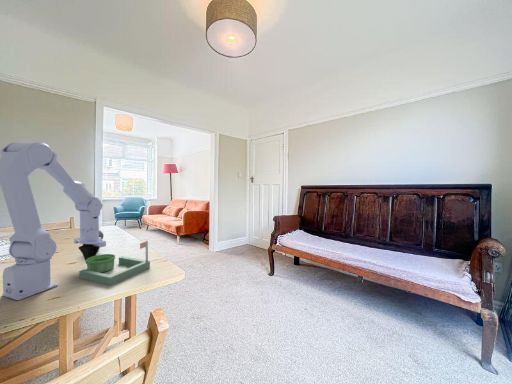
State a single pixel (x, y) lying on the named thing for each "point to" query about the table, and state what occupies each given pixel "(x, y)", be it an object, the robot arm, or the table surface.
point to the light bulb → (101, 234)
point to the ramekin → (100, 262)
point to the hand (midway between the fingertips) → (90, 263)
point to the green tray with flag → (107, 279)
